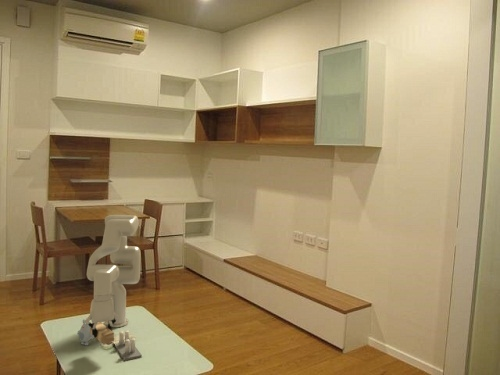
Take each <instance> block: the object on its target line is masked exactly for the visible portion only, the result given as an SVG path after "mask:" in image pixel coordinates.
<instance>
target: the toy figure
mask: <svg viewBox="0 0 500 375" xmlns="http://www.w3.org/2000/svg"><path fill="white" fill-rule="evenodd" d="M85 320H86V319H82V325H81V327H80V329H79V330H78V331H77V333H76V334H77V335H78V339H79V340H80V341H81V343H80V345H84V346H88V345H89V344H90V343H89V342H90V340H91V339H92V340H93V339H94V338H95V337H94V336H93V335H92V334H91V333H90V326H89V325H87V324H86V323H85Z"/></svg>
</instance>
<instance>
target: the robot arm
mask: <svg viewBox="0 0 500 375" xmlns="http://www.w3.org/2000/svg"><path fill="white" fill-rule="evenodd" d="M139 221H140V219H139V218H138V216H137V215H135V214H134V215H133V214H131V215H130V214H129V215H128V214H110V215H107V216H105V218H104V225H105V226H104V233H103V238H102V242H101V244H100V246H99V247H97V248H96V249H95V250H94V251H93V253H92V254H91V255H90V256H89V259H88V264H87V268H86V278H87V279H88V280H89V281H91V282H93V299H92V300H91V302H90V310H89V315H88V317H87V318H86V319H84V320H85V324H87V325H89V326H90V327H91V328H92V335H94V338H95V337H96V325H97V323H100V322H101V323H103V324H104V325H105V326H106V327H108V328H109V329H110V330H111V331H113V328H121V327H125V326H126V325H129V319H128V318H127V317H126V316H127V311H126V310H127V290H126V288H125V286H124V285H136V284H138V283H139V282H140V279H141V262H142V261H141V260H142V258H141V254H142V253H141V249H140V247H138V246H135V245H134V246H133V245H132V246H131V245H128V237H130V236H131V237H133V236H134V235H135V233H136V232H137V230H138V228H139ZM109 255H110V256H109ZM106 256H109V258H110V262H111V263H113V264H97V262H98V261H99V260H101V259H102V258H104V257H106ZM115 264H117V265H115ZM118 264H119V265H118ZM121 264H122V265H121ZM128 265H129V266H128ZM130 265H131V266H130ZM90 321H91V322H90Z"/></svg>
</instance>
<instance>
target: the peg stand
mask: <svg viewBox="0 0 500 375" xmlns="http://www.w3.org/2000/svg"><path fill="white" fill-rule="evenodd" d="M118 338H119V339H118V341H119V343H118V344H116V345H115V346H114V348H115V349H116V350H117V352H118V354H119V355H120V356H121V358H122V360H123V361H124V362H125V361H131V360H134V359H139V358H142V357H143V356H142V354H141V352H140V351H139V349H138V348H137V347H136V338H131V339H130V330H125V331H119V336H118ZM124 340H125V342H124Z"/></svg>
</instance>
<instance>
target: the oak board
mask: <svg viewBox="0 0 500 375" xmlns="http://www.w3.org/2000/svg"><path fill="white" fill-rule="evenodd" d="M90 333H91V334H92V328H91V327H90ZM93 336H94V335H93ZM94 338H95V339H97V340H98V341H99V342H100V343H101V344H102V345H104V344H105V345H106V344H108V343H113V342H114V341H115V332H114V331H113V330H112V331H111V330H110V329H109V328H108V326H106V325H105V324H104V323H103V322H99V323H97V325H96V337H94Z"/></svg>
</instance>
